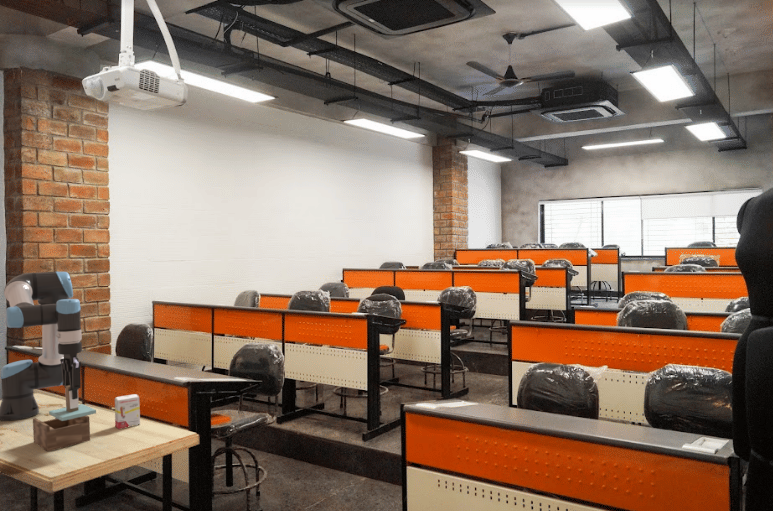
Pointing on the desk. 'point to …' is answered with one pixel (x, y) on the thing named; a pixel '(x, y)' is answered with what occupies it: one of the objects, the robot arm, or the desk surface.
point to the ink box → (127, 411)
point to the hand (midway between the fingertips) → (72, 406)
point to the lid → (71, 410)
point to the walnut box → (61, 432)
